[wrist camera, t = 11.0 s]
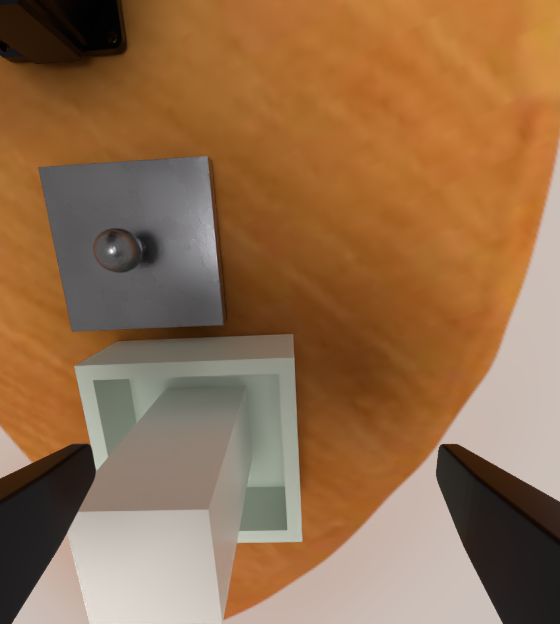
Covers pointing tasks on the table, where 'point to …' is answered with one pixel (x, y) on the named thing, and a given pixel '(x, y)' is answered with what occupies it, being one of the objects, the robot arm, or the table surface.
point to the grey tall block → (167, 513)
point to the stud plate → (137, 243)
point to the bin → (206, 374)
